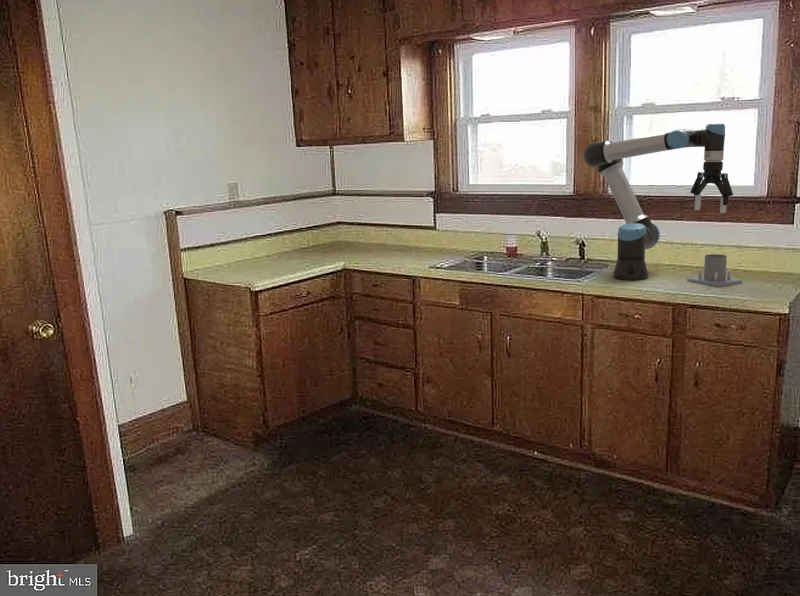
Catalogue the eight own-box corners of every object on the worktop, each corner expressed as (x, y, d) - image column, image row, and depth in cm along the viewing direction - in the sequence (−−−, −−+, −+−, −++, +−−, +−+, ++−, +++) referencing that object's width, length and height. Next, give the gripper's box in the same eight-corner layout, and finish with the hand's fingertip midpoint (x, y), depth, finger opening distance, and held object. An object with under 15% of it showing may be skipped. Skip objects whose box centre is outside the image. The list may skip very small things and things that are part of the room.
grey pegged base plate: (687, 281, 305) (687, 269, 304) (710, 277, 311) (710, 265, 310) (718, 287, 291) (719, 274, 290) (741, 282, 297) (742, 270, 296)
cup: (715, 281, 295) (716, 258, 293) (699, 278, 303) (700, 255, 300) (729, 279, 299) (731, 256, 297) (713, 276, 306) (714, 253, 304)
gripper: (683, 160, 308) (680, 209, 313) (731, 162, 286) (727, 214, 291) (696, 160, 311) (693, 208, 316) (744, 161, 289) (740, 213, 294)
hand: (709, 211), depth 304 cm, fingers open, 13 cm apart
